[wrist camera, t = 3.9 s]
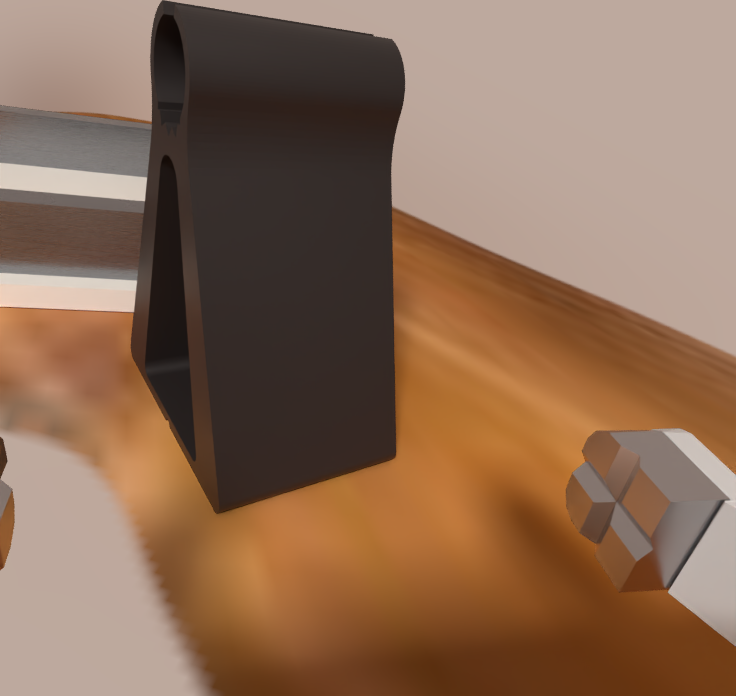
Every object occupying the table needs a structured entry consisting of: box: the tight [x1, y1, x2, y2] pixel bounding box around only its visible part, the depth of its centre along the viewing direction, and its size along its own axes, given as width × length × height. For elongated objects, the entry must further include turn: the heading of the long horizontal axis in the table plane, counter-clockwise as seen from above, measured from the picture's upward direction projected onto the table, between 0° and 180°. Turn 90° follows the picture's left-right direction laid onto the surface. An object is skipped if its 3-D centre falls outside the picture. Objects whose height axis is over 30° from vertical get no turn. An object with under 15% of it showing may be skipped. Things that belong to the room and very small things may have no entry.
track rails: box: [0, 105, 152, 281], centre depth 32 cm, size 22×17×3 cm
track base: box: [0, 163, 147, 312], centre depth 33 cm, size 22×19×1 cm
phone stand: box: [131, 0, 405, 513], centre depth 18 cm, size 9×6×12 cm, turn 33°
